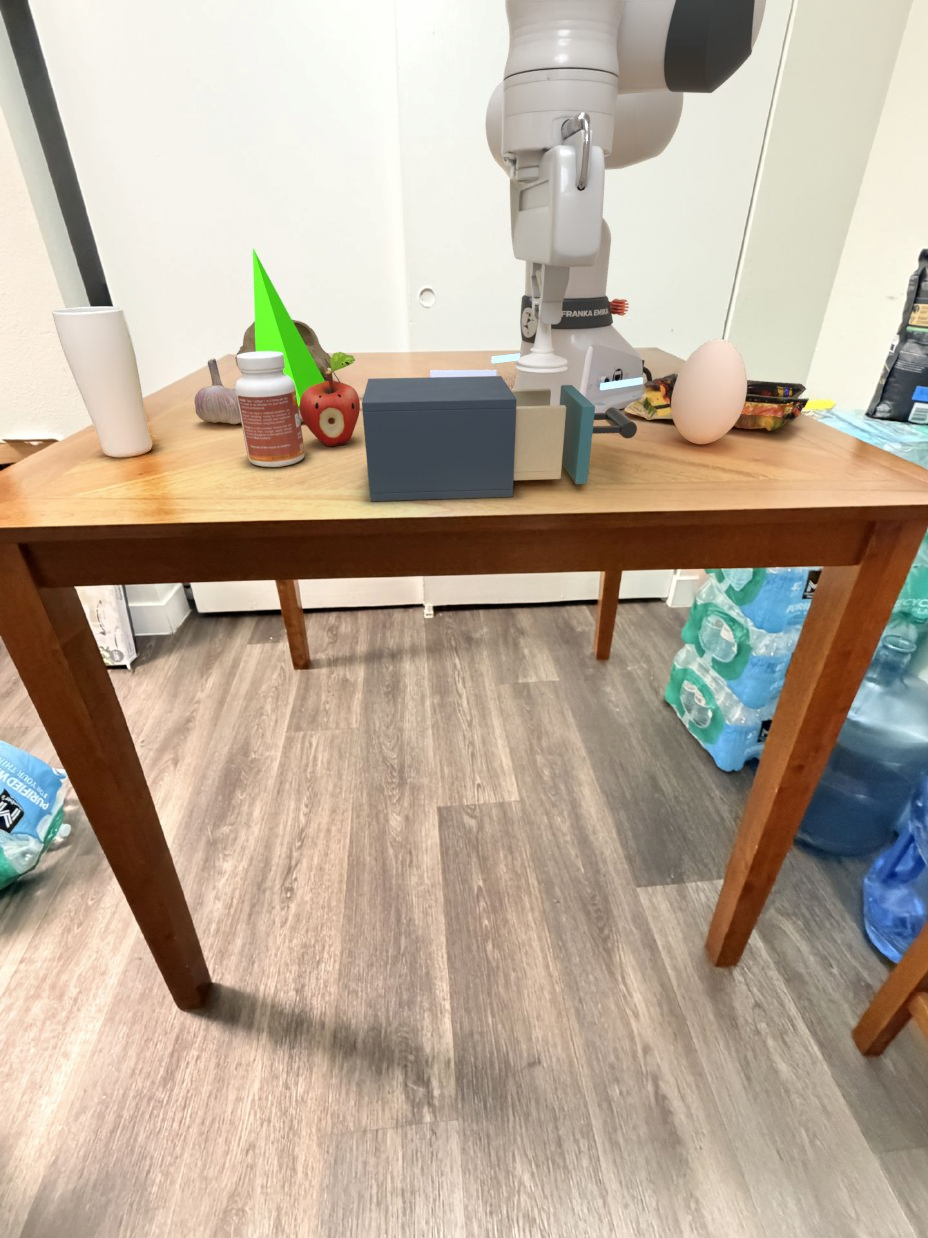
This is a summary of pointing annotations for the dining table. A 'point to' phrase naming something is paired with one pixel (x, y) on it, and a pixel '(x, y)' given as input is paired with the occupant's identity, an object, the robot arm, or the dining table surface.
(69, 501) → the dining table surface
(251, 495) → the dining table surface
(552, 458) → the drawer
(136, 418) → the drinking glass
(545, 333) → the chess piece
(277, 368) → the pill bottle
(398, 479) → the cabinet
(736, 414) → the egg
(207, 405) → the garlic bulb
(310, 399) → the apple
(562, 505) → the dining table surface
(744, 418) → the food
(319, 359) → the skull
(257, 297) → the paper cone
